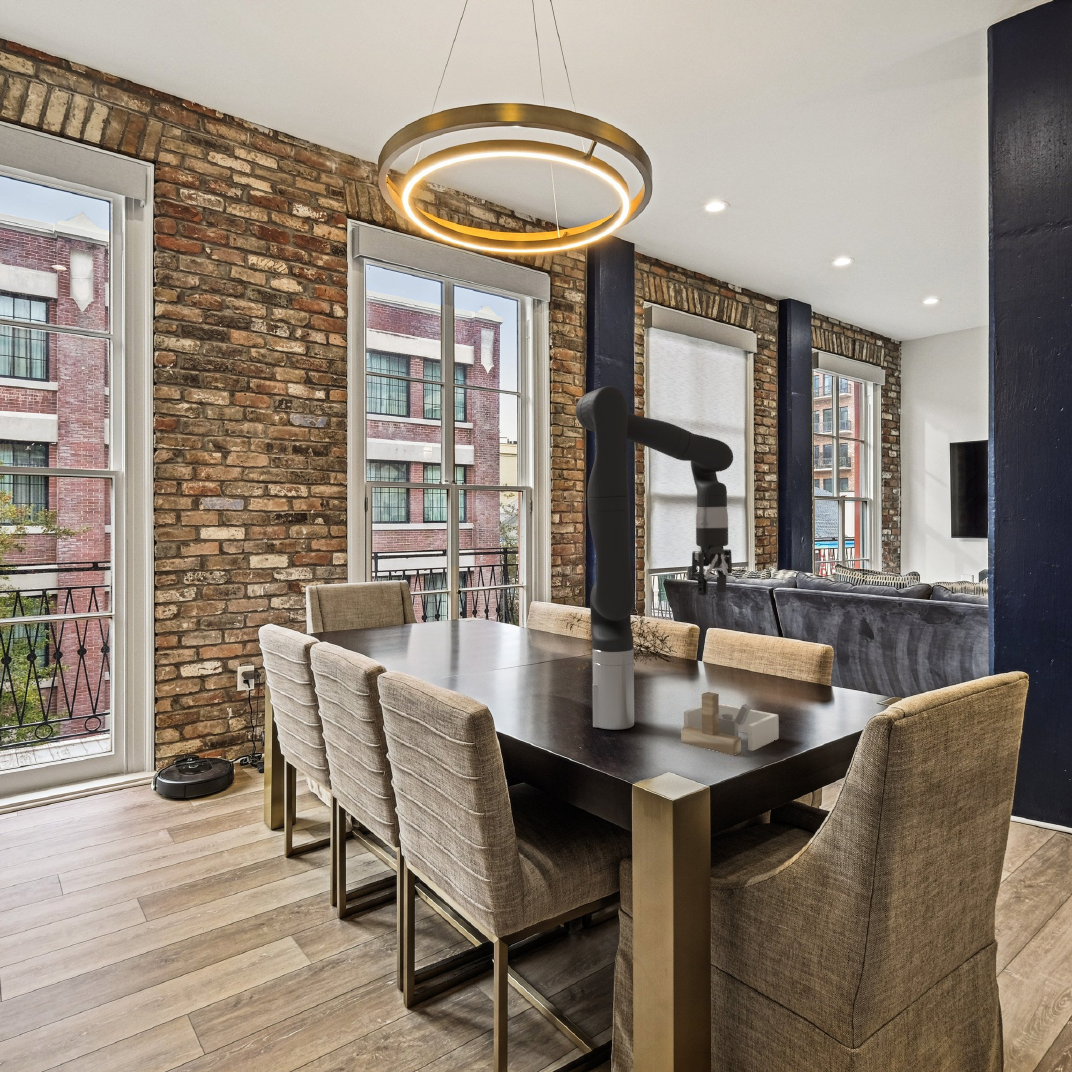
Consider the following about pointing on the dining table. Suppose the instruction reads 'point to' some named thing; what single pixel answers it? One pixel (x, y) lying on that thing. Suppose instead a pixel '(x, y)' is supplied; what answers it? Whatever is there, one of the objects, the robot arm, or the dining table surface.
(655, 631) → the dried plant
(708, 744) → the wooden t-shaped post
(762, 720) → the box
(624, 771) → the dining table surface
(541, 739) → the dining table surface
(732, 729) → the lighter
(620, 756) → the dining table surface
